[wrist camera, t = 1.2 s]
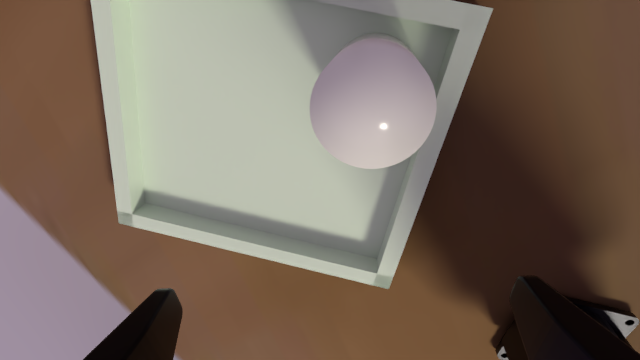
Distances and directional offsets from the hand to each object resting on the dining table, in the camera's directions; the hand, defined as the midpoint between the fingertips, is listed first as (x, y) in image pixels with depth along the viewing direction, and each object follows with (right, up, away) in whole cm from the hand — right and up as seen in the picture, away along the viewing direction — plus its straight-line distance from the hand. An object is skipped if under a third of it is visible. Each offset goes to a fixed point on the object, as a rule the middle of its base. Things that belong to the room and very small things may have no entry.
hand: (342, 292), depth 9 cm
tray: (-3, +6, +11) cm, 13 cm away
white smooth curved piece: (+2, +8, +8) cm, 12 cm away
